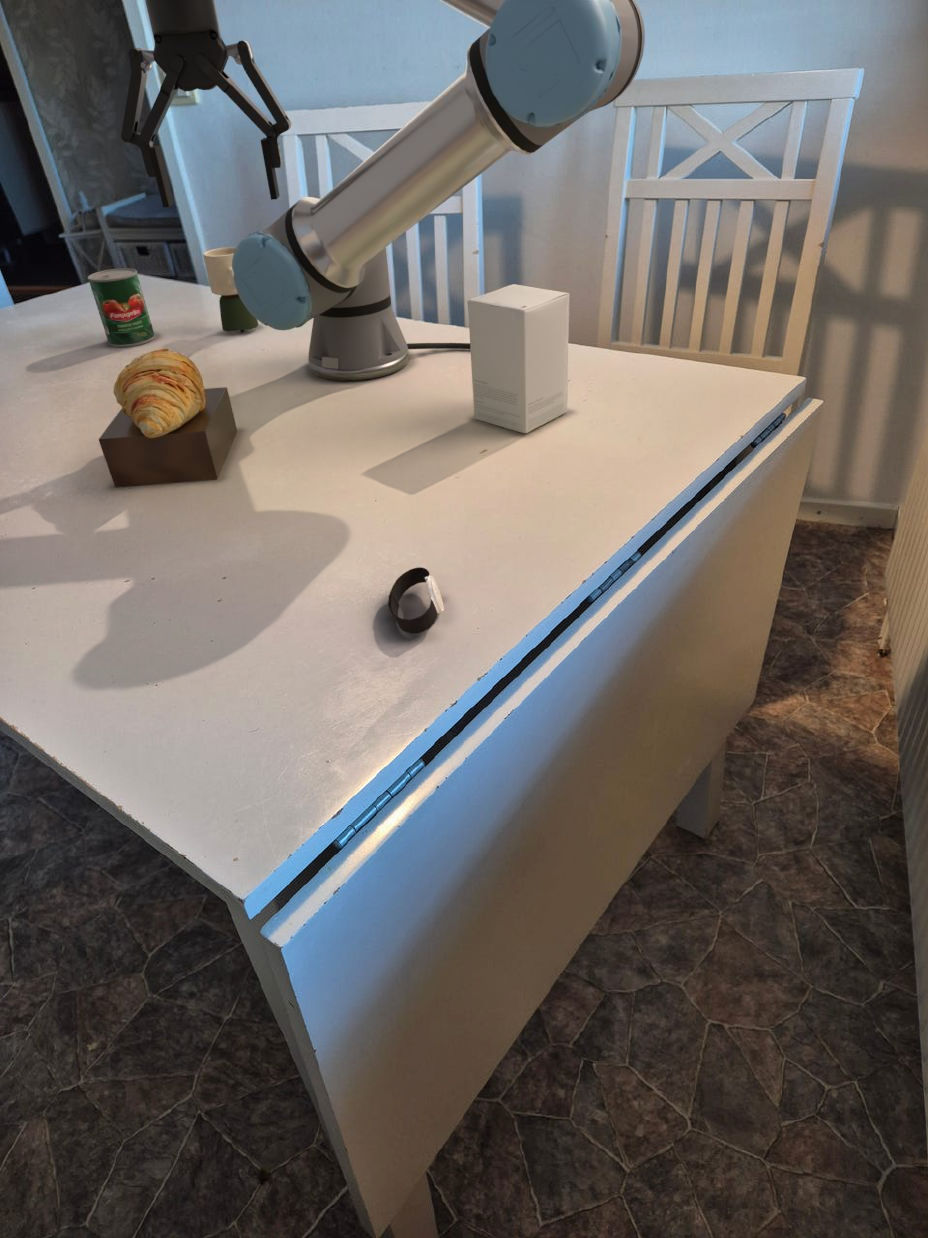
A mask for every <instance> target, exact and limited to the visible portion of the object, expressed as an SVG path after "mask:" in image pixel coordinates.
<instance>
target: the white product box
mask: <svg viewBox="0 0 928 1238" xmlns="http://www.w3.org/2000/svg"><path fill="white" fill-rule="evenodd" d="M467 314H468V331H469V343H470V349H469V350H470V364H471V383H472V384H471V385H472V398H473V419H475V420H477V421H481V422H484V423H489V424H491V425H494V426H498V427H501V428H505V429H508V430H511V431H515V432H518V433H522V434H528V433H530V432H531V431H533V430H535V429H538V428H539V427H541V426H543V425H545V424H547V423H549V422H550V421H552V420H553V421H554V420H555V419H556V418H558V417H561V416H562V415H564V414H566V413H567V414H568V402H569V401H568V396H569V394H568V393H569V392H568V391H569V336H570V335H569V333H570V331H569V329H570V327H569V326H570V325H569V324H570V293H569V292H564V291H558V290H551V289H545V288H539V287H533V286H527V285H521V284H515V283H513V284H509V285H506V286H503V287H501V288H499V289H496V290H493V291H490V292H486V293H483V294H480V295H478V296H475V297H473V298H470V299H468V300H467Z"/></svg>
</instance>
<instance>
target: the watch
mask: <svg viewBox="0 0 928 1238" xmlns="http://www.w3.org/2000/svg"><path fill="white" fill-rule="evenodd" d="M422 583H426V589H427V593H428V596H429V599H430V604H429V606H428V609H427V610H426V611H425V612H424V613H422V614H421V615H420V616H417V617H414V618H411V619H406V618H401V617H399V608H400V600H401V598H402V597H403V595H404V594H405V593H406V592H407V591H408V590H409V589H410V588H412V587H414V586H416V585H418V584H422ZM388 607H389V610H390V612H391V614H392V616H393V618H394V619H395V622H396V624H397V626H398V627H399V628H400V630H401V631H402V632H405V633H406V634H412V635H414V634H415V635H416V634H421V633H423V632H426V631H428V630H429V629H431V627H433V625H434V624H435V623H436V620H437V618H438V616H439V614H440V613H441V612H444V603H443V597H442V595H441V591H440V589H439V586H438V583H437V580H436V578H435V577H434V576H432V575H431V574H430V571H429V570H428V569H427V568H424V567H414V568H413V567H412V568H411V569H408V570H407V571H405V572H404V573H402V574H401V575H399V577H398V578H397V579H396V580H395V582H394V583H393V585H392V587H391V590H390V592H389V594H388Z"/></svg>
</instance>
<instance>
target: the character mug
mask: <svg viewBox="0 0 928 1238" xmlns="http://www.w3.org/2000/svg"><path fill="white" fill-rule="evenodd" d="M236 247H237V246H228V247H227V246H225V247H219V248H218V247H217V248H214V249H213V248H212V249H209V250H206V251H204V252H203V253H202V257H203V262H204V267H205V270H206V274H207V278H208V279H207V280H208V283H209V288H210V291H211V293H212V294H214V295H217V296H220V297H219V300H218V301H219V312H220V322H221V327H222V331H224V332H235V331H240V333H245V331H251V330H254V329H256V328H258V327H259V326H260V324H259V321H258V320H257V319H256V318H255V317H254V316H253V315H252V314H251V313H250V312H249V311H248V309H247V308H246V307H245V305H244V304H243V302H242V300H241V299H240V297H239V295H238V293H237V290H236V287H235V284H234V280H233V276H234V272H233V270H232V259H233V255H234V252H235V249H236Z"/></svg>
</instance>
